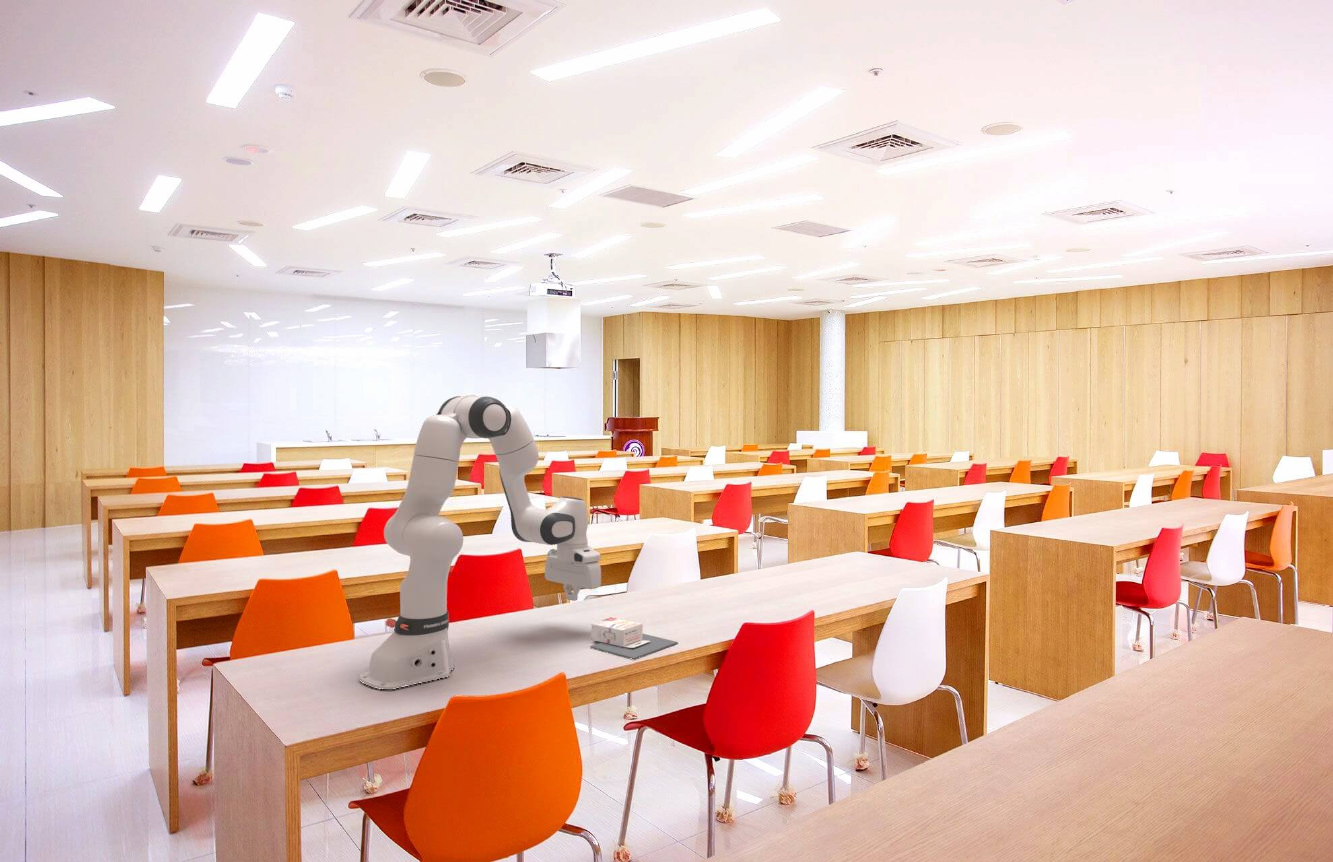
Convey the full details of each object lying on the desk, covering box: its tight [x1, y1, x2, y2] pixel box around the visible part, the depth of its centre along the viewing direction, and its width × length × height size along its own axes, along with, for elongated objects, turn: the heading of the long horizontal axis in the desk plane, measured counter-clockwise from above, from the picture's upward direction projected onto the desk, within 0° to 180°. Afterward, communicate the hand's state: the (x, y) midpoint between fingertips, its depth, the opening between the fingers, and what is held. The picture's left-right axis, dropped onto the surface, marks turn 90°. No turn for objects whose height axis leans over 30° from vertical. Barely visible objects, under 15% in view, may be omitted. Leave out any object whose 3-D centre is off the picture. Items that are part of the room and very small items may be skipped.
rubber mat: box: [589, 632, 679, 660], centre depth 222 cm, size 18×16×1 cm
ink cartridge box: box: [590, 617, 650, 648], centre depth 224 cm, size 9×5×15 cm
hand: (571, 599), depth 235 cm, fingers closed
